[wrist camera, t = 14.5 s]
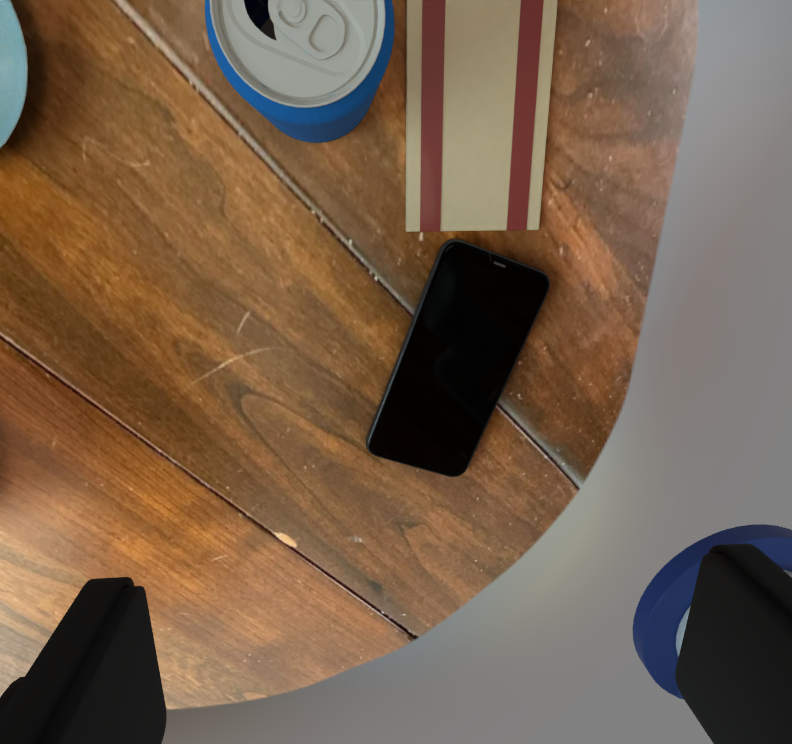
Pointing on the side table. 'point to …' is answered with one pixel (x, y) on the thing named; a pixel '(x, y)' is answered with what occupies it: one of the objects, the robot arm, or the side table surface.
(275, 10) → the beverage can
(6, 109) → the saucer
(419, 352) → the smartphone
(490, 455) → the side table surface
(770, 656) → the robot arm
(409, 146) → the tea towel
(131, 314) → the side table surface
